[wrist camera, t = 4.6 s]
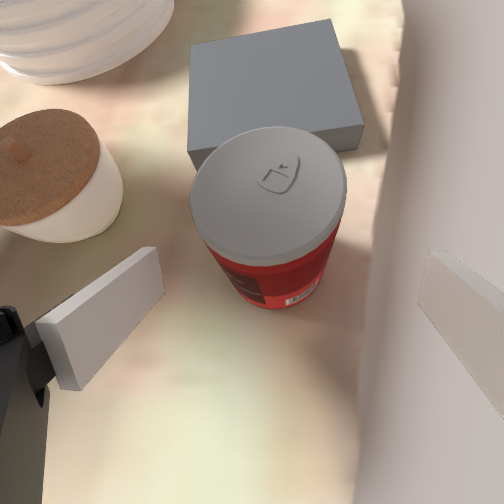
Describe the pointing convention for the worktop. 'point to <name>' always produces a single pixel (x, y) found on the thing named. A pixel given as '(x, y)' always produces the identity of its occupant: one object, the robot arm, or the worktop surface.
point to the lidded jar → (56, 178)
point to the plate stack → (76, 36)
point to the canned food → (270, 211)
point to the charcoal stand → (271, 88)
